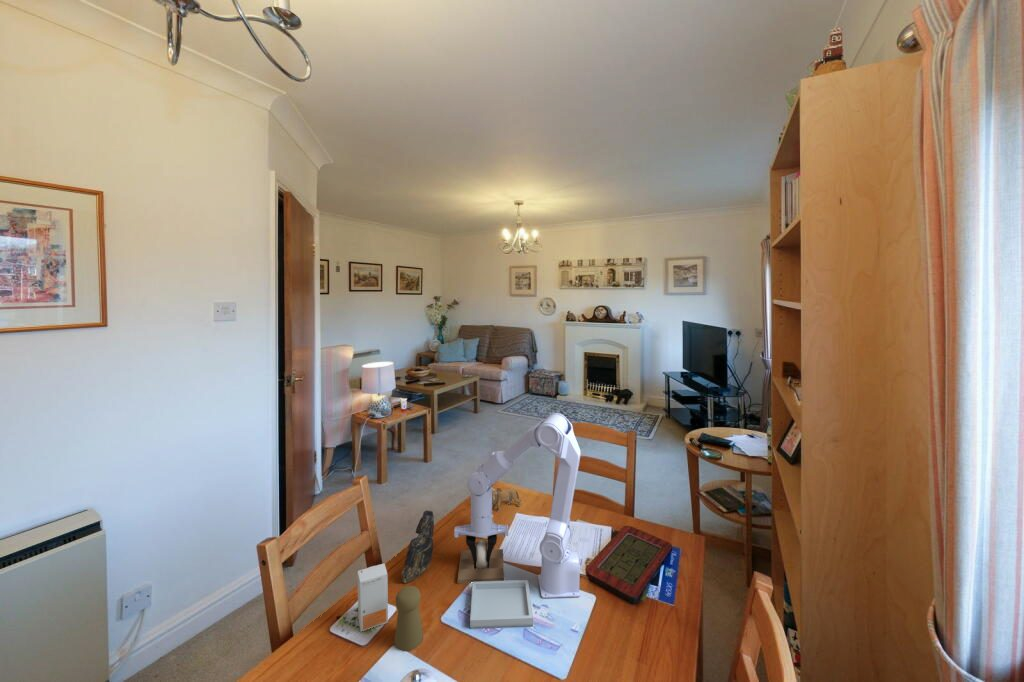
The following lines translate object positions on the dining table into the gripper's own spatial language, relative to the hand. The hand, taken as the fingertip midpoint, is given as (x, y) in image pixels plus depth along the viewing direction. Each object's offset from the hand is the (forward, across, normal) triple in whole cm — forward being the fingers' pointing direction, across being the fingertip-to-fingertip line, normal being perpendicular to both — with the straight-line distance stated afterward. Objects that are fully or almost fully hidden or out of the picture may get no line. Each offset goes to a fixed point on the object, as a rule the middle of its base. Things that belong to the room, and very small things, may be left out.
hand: (481, 559), depth 106 cm
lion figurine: (+2, -7, -30) cm, 31 cm away
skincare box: (+2, +24, +17) cm, 30 cm away
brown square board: (+2, 0, 0) cm, 2 cm away
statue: (+2, +17, +1) cm, 17 cm away
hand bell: (+2, -1, -17) cm, 17 cm away
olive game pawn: (+2, +15, +22) cm, 27 cm away
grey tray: (+2, -5, +14) cm, 15 cm away
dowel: (+2, 0, 0) cm, 2 cm away
